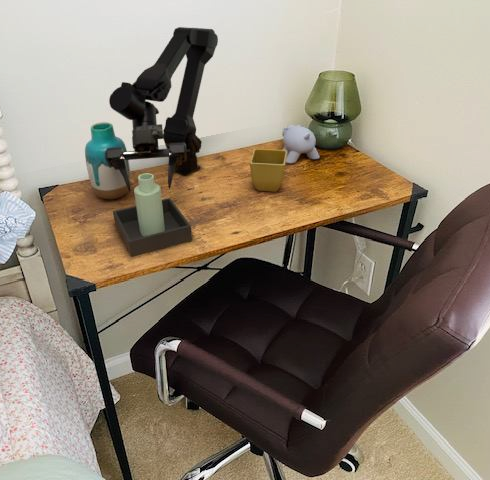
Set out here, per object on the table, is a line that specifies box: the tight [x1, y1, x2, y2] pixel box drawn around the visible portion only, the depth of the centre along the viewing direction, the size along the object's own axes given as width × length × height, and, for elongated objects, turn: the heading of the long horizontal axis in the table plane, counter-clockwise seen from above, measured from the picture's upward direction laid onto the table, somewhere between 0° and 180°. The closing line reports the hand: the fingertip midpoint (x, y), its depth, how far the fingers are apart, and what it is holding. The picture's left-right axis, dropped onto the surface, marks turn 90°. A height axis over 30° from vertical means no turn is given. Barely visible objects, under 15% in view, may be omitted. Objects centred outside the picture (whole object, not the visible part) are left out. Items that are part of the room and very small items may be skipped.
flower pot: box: [249, 148, 287, 193], centre depth 127 cm, size 9×9×9 cm
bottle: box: [133, 172, 165, 236], centre depth 109 cm, size 6×6×14 cm
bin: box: [112, 197, 193, 258], centre depth 112 cm, size 14×14×4 cm
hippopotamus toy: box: [281, 124, 320, 164], centre depth 143 cm, size 11×15×10 cm
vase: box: [84, 121, 132, 200], centre depth 124 cm, size 11×11×19 cm
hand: (149, 189), depth 113 cm, fingers open, 9 cm apart
